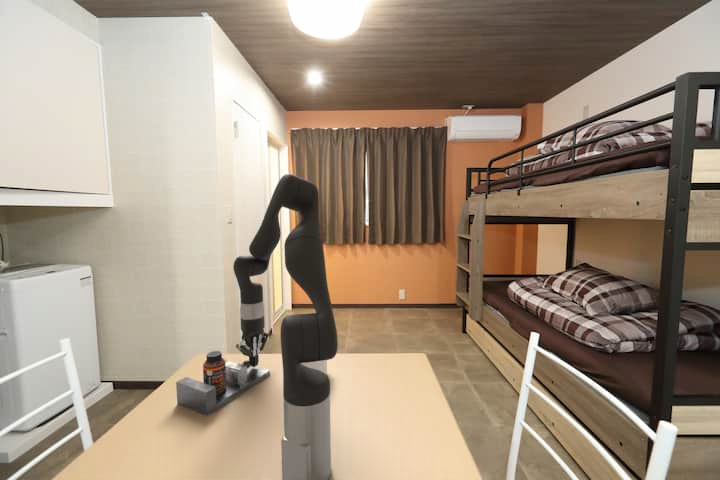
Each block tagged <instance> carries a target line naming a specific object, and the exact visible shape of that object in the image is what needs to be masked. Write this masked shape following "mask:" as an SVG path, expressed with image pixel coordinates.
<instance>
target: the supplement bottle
mask: <svg viewBox="0 0 720 480" xmlns="http://www.w3.org/2000/svg"><path fill="white" fill-rule="evenodd" d="M222 356H223V355H222V351H220V350H214V351H210V352H208V353H207V354H206V360H205V361H204V362H203V364H202V365H203V366H202V373H203V375H202V376H203V377H202V378H203V383H206V384H209V385H212V386H215V387H216V395H218V394H221V393H222V392H224V391H225V389H226V365H225V360H226V359H225V358H223V357H222Z"/></svg>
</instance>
